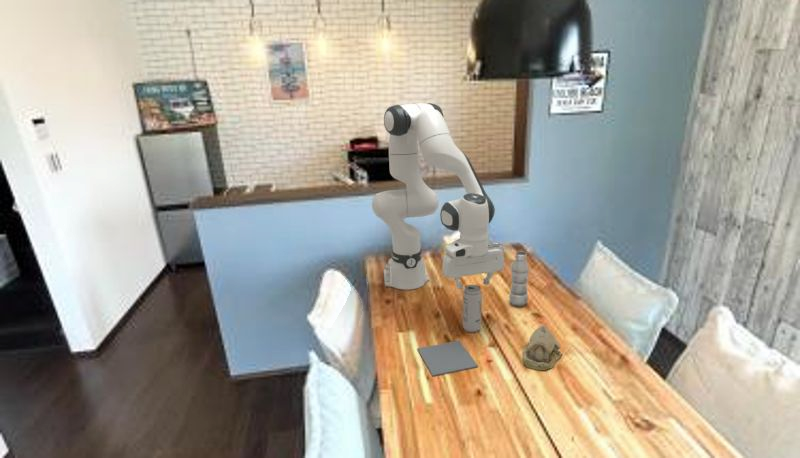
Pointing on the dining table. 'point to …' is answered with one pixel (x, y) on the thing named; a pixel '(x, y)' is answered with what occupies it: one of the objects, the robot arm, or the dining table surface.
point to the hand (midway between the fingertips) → (473, 286)
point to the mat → (446, 358)
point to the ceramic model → (541, 350)
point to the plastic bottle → (519, 280)
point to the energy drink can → (472, 308)
